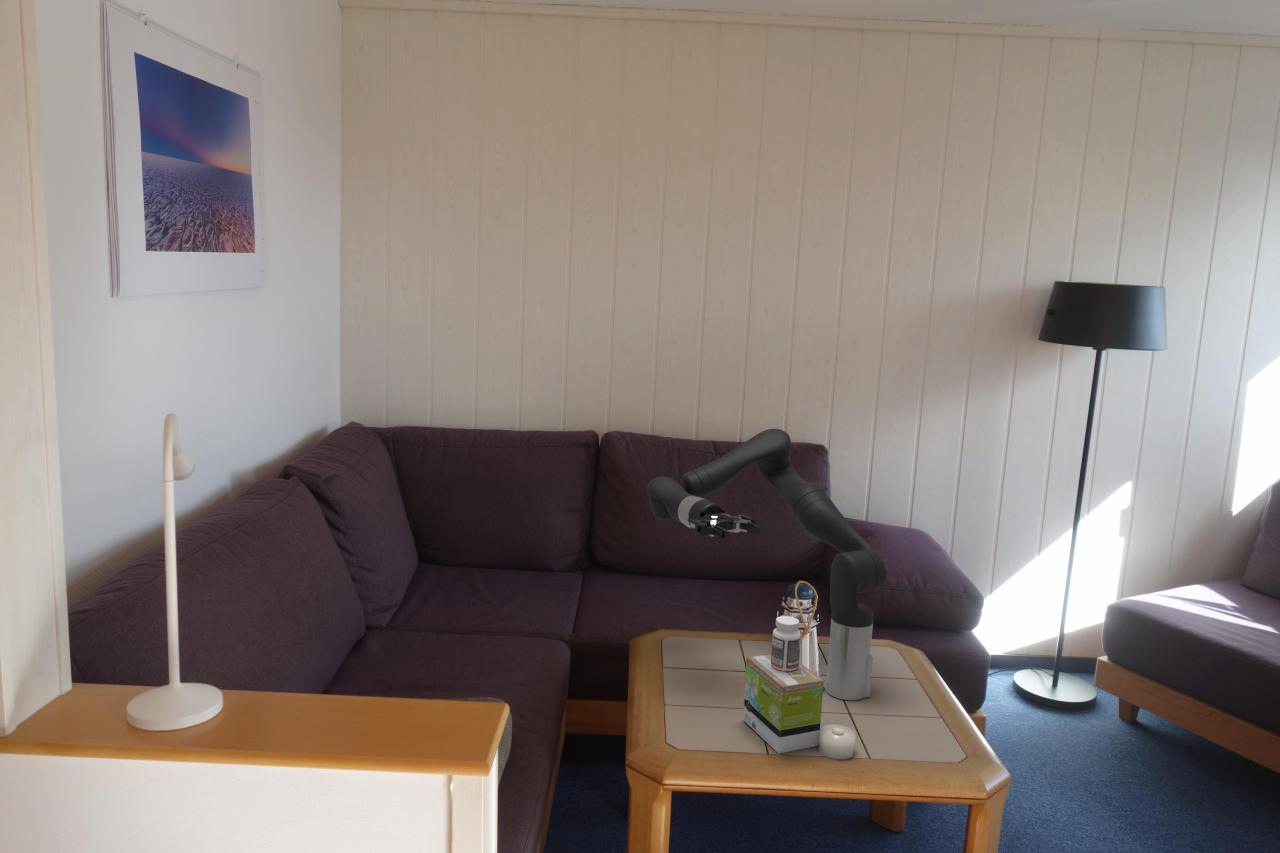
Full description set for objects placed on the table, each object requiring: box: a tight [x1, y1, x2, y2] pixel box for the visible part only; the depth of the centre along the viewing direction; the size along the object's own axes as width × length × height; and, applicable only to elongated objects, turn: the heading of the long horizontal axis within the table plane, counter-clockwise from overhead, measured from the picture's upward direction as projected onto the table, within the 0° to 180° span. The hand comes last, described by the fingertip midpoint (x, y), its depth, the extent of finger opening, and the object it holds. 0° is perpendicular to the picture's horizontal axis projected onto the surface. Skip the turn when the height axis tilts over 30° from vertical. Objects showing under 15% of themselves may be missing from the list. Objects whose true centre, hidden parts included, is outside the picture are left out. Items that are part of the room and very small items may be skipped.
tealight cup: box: [818, 723, 857, 761], centre depth 198 cm, size 7×7×5 cm
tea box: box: [742, 653, 825, 754], centre depth 203 cm, size 15×10×15 cm, turn 23°
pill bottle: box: [770, 615, 802, 671], centre depth 202 cm, size 6×6×10 cm
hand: (742, 533), depth 214 cm, fingers open, 8 cm apart
